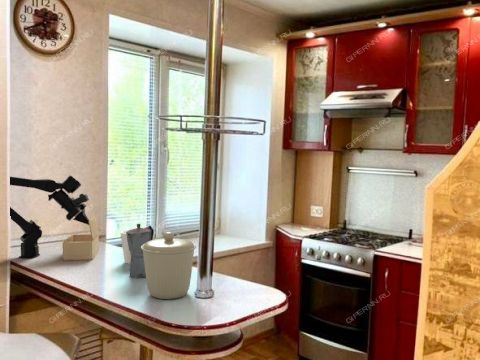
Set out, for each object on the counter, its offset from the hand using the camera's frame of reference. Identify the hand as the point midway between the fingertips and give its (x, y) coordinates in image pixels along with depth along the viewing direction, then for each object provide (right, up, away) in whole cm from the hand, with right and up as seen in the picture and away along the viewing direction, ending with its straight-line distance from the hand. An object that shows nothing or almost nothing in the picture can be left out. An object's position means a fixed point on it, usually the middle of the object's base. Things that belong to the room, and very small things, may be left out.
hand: (90, 224), depth 210 cm
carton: (-2, -14, -6) cm, 15 cm away
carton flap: (+3, -1, -6) cm, 7 cm away
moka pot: (+31, -16, -35) cm, 50 cm away
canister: (+46, -18, -59) cm, 77 cm away
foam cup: (+23, -15, -16) cm, 32 cm away
